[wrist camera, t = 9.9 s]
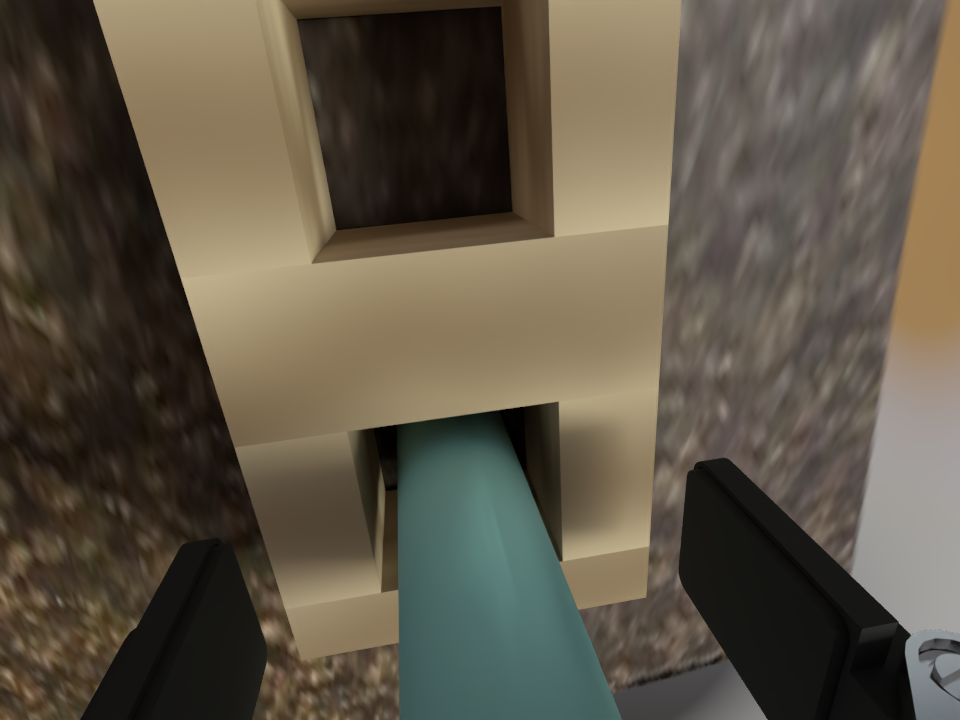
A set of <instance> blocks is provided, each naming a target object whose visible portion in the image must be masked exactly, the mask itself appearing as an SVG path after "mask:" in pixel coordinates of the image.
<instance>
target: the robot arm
mask: <svg viewBox="0 0 960 720" xmlns="http://www.w3.org/2000/svg"><path fill="white" fill-rule="evenodd" d="M679 577H680V580H681V583H682V586H683V587H684V589H685V591H686V592H687V594H688V596H689V597H690V599H691V600H692V602H693V603H694V605H695V607H696V608H697V610H698V611H699V613H700V614H701V616H702V617H703V619H704V621H705V622H706V624H707V625H708V627H709V628H710V630H711V632H712V633H713V635H714V636H715V638H716V639H717V641H718V643H719V644H720V646H721V647H722V649H723V650H724V652H725V654H726V655H727V657H728V658H729V660H730V661H731V663H732V664H733V666H734V668H735V669H736V671H737V672H738V674H739V675H740V677H741V679H742V680H743V682H744V683H745V685H746V686H747V688H748V690H749V691H750V693H751V694H752V696H753V697H754V699H755V700H756V702H757V704H758V705H759V706H760V708H761V710H762V711H763V713H764V714H765V716H766V718H767V719H768V720H960V634H958V633H953V632H948V631H943V630H922V631H920V632H917V633H914V634H912V635H910V634H909V633H908V632H907V631H906V630H905V629H904V628H903V627H902V626H901V625H900V624H899V623H898V621H897V620H896V619H895V618H894V617H893V616H892V615H891V614H890V613H889V612H888V611H887V610H886V609H884V607H883V606H882V605H881V604H880V603H878V602H877V601H876V600H875V599H874V598H873V597H872V596H871V595H870V594H869V593H868V592H867V591H866V590H865V589H864V588H863V587H862V586H861V585H860V584H859V583H858V582H856V581H855V580H854V579H853V578H852V577H851V576H850V575H849V574H848V573H847V572H846V571H845V570H844V569H843V568H842V567H841V566H840V565H839V564H838V563H837V562H836V561H835V560H834V559H833V558H832V557H830V556H829V555H828V554H827V553H826V552H825V551H824V550H823V549H822V548H821V547H820V546H819V545H818V544H817V543H816V542H815V541H814V540H813V539H812V538H811V537H810V536H809V535H808V534H806V533H805V532H804V531H803V530H802V529H801V528H800V527H799V526H798V525H797V524H796V523H795V522H794V521H793V520H792V519H791V518H790V517H789V516H788V515H787V514H786V513H785V512H784V511H782V510H781V509H780V508H779V507H778V506H777V505H776V504H775V503H774V502H773V501H772V500H771V499H770V498H769V497H768V496H767V495H766V494H765V493H764V492H763V491H762V490H761V489H760V488H758V487H757V486H756V485H755V484H754V483H753V482H752V481H751V480H750V479H749V478H748V477H747V476H746V475H745V474H744V473H743V472H742V471H741V470H740V469H739V468H738V467H737V466H736V465H734V464H733V463H732V462H731V461H730V460H729V459H727V458H719V459H713V460H707V461H700V462H697V463H696V464H695V466H694V470H691V471H689V472H688V474H687V482H686V493H685V504H684V515H683V526H682V537H681V548H680V559H679ZM266 662H267V646H266V642H265V639H264V636H263V633H262V630H261V627H260V625H259V622H258V619H257V616H256V613H255V610H254V607H253V604H252V602H251V599H250V596H249V593H248V590H247V587H246V584H245V581H244V579H243V576H242V573H241V570H240V567H239V564H238V561H237V559H236V556H235V553H234V550H233V548H232V546H231V545H230V544H226V545H223V543H222V541H221V540H220V539H218V538H213V539H207V540H201V541H194V542H188V543H185V544H183V545H182V546H181V548H180V549H179V551H178V553H177V554H176V556H175V558H174V560H173V562H172V564H171V565H170V567H169V569H168V571H167V573H166V575H165V576H164V578H163V580H162V582H161V584H160V586H159V587H158V589H157V591H156V593H155V595H154V597H153V598H152V600H151V602H150V604H149V606H148V608H147V609H146V611H145V613H144V615H143V617H142V619H141V620H140V622H139V624H138V626H137V628H135V629H134V630H133V631H131V632H130V633H129V635H128V636H127V638H126V639H125V640H124V642H123V644H122V646H121V647H120V649H119V651H118V653H117V655H116V656H115V658H114V660H113V662H112V664H111V665H110V667H109V669H108V671H107V673H106V674H105V676H104V678H103V680H102V682H101V683H100V685H99V687H98V689H97V691H96V692H95V694H94V696H93V698H92V700H91V701H90V703H89V705H88V707H87V709H86V710H85V712H84V714H83V716H82V718H81V719H80V720H252V717H253V714H254V710H255V706H256V702H257V698H258V694H259V690H260V686H261V683H262V679H263V675H264V671H265V667H266Z"/></svg>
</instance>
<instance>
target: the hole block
mask: <svg viewBox="0 0 960 720" xmlns="http://www.w3.org/2000/svg"><path fill="white" fill-rule="evenodd" d="M681 1H682V0H93V2H94V5H95V8H96V11H97V14H98V18H99V21H100V24H101V27H102V30H103V33H104V36H105V40H106V43H107V46H108V49H109V52H110V55H111V59H112V62H113V65H114V68H115V71H116V74H117V78H118V81H119V84H120V87H121V90H122V93H123V97H124V100H125V103H126V106H127V109H128V112H129V116H130V119H131V122H132V125H133V128H134V131H135V135H136V138H137V141H138V144H139V147H140V150H141V154H142V157H143V160H144V163H145V166H146V169H147V173H148V176H149V179H150V182H151V185H152V188H153V192H154V195H155V198H156V201H157V204H158V207H159V211H160V214H161V217H162V220H163V223H164V226H165V230H166V233H167V236H168V239H169V242H170V245H171V249H172V252H173V255H174V258H175V261H176V264H177V268H178V271H179V274H180V277H181V280H182V283H183V287H184V290H185V293H186V296H187V299H188V302H189V306H190V309H191V312H192V315H193V318H194V321H195V325H196V328H197V331H198V334H199V337H200V340H201V344H202V347H203V350H204V353H205V356H206V359H207V363H208V366H209V369H210V372H211V375H212V378H213V382H214V385H215V388H216V391H217V394H218V397H219V401H220V404H221V407H222V410H223V413H224V416H225V420H226V423H227V426H228V429H229V432H230V435H231V439H232V442H233V445H234V448H235V451H236V454H237V458H238V461H239V464H240V467H241V470H242V473H243V477H244V480H245V483H246V486H247V489H248V492H249V496H250V499H251V502H252V505H253V508H254V511H255V515H256V518H257V521H258V524H259V527H260V530H261V534H262V537H263V540H264V543H265V546H266V549H267V553H268V556H269V559H270V562H271V565H272V568H273V572H274V575H275V578H276V581H277V584H278V587H279V591H280V594H281V597H282V600H283V603H284V606H285V610H286V613H287V616H288V619H289V622H290V625H291V629H292V632H293V635H294V638H295V641H296V644H297V648H298V651H299V654H300V657H301V660H306V659H312V658H317V657H322V656H328V655H333V654H339V653H344V652H350V651H355V650H361V649H366V648H372V647H377V646H383V645H388V644H394V643H399V603H398V500H397V489H396V490H390V491H385V486H384V481H383V475H382V470H381V465H380V459H379V454H378V449H377V443H376V438H375V433H374V428H376V427H383V426H390V425H397V424H404V423H411V422H418V421H425V420H432V419H439V418H446V417H453V416H460V415H467V414H474V413H481V412H488V411H495V410H502V409H509V408H516V407H524V425H525V443H526V461H527V469H526V470H523V472H524V475H525V478H526V480H527V483H528V485H529V488H530V490H531V493H532V495H533V498H534V500H535V503H536V505H537V508H538V510H539V513H540V515H541V518H542V520H543V523H544V525H545V528H546V530H547V533H548V535H549V538H550V540H551V543H552V545H553V548H554V550H555V553H556V555H557V558H558V560H559V563H560V565H561V568H562V571H563V573H564V576H565V578H566V581H567V583H568V586H569V588H570V591H571V593H572V596H573V598H574V601H575V603H576V606H577V608H578V610H579V609H585V608H590V607H596V606H601V605H607V604H612V603H617V602H623V601H628V600H634V599H639V598H645V597H646V591H647V574H648V557H649V540H650V524H651V507H652V490H653V473H654V456H655V439H656V422H657V406H658V389H659V372H660V355H661V338H662V321H663V304H664V288H665V271H666V254H667V237H668V220H669V203H670V186H671V169H672V153H673V136H674V119H675V102H676V85H677V68H678V51H679V35H680V18H681ZM494 6H501V14H502V32H503V50H504V68H505V85H506V103H507V121H508V139H509V157H510V175H511V193H512V210H513V212H507V213H497V214H488V215H478V216H469V217H459V218H449V219H440V220H430V221H421V222H411V223H402V224H392V225H383V226H373V227H363V228H354V229H344V230H336V226H335V220H334V215H333V210H332V205H331V199H330V194H329V189H328V183H327V178H326V173H325V167H324V162H323V157H322V151H321V146H320V141H319V136H318V130H317V125H316V120H315V114H314V109H313V104H312V98H311V93H310V88H309V82H308V77H307V72H306V67H305V61H304V56H303V51H302V45H301V40H300V35H299V29H298V24H297V19H310V18H325V17H341V16H356V15H371V14H387V13H402V12H417V11H433V10H448V9H464V8H479V7H494Z"/></svg>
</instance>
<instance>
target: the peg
mask: <svg viewBox="0 0 960 720" xmlns="http://www.w3.org/2000/svg"><path fill="white" fill-rule="evenodd" d="M397 500H398V603H399V707H400V720H622V719H621V716H620V714H619V711H618V709H617V706H616V704H615V701H614V699H613V696H612V694H611V691H610V689H609V686H608V684H607V681H606V679H605V676H604V674H603V671H602V669H601V666H600V664H599V661H598V658H597V656H596V653H595V651H594V648H593V646H592V643H591V641H590V638H589V636H588V633H587V631H586V628H585V626H584V623H583V621H582V618H581V616H580V613H579V611H578V608H577V606H576V603H575V601H574V598H573V596H572V593H571V591H570V588H569V586H568V583H567V581H566V578H565V576H564V573H563V571H562V568H561V565H560V563H559V560H558V558H557V555H556V553H555V550H554V548H553V545H552V543H551V540H550V538H549V535H548V533H547V530H546V528H545V525H544V523H543V520H542V518H541V515H540V513H539V510H538V508H537V505H536V503H535V500H534V498H533V495H532V493H531V490H530V488H529V485H528V483H527V480H526V478H525V475H524V472H523V470H522V467H521V465H520V462H519V460H518V457H517V455H516V452H515V450H514V447H513V445H512V442H511V440H510V437H509V435H508V432H507V430H506V427H505V425H504V422H503V420H502V417H501V415H500V412H499V410H495V411H488V412H481V413H474V414H467V415H460V416H453V417H446V418H439V419H432V420H425V421H418V422H411V423H404V424H397Z"/></svg>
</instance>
